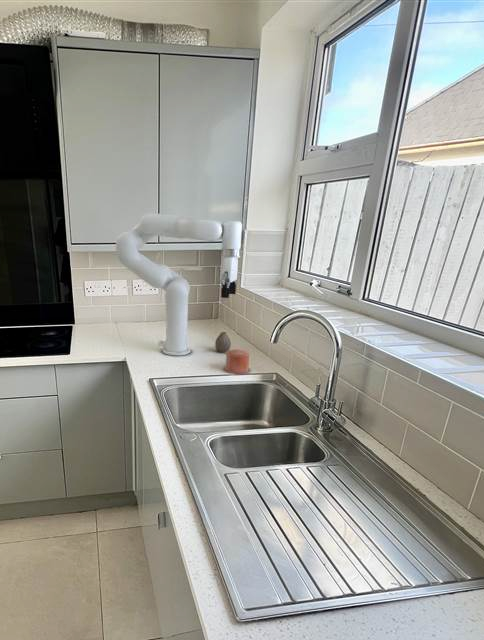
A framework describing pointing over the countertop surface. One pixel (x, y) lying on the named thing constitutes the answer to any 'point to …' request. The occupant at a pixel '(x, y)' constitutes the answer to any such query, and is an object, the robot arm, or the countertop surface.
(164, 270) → the robot arm
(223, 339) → the vase
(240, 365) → the upturned mug
